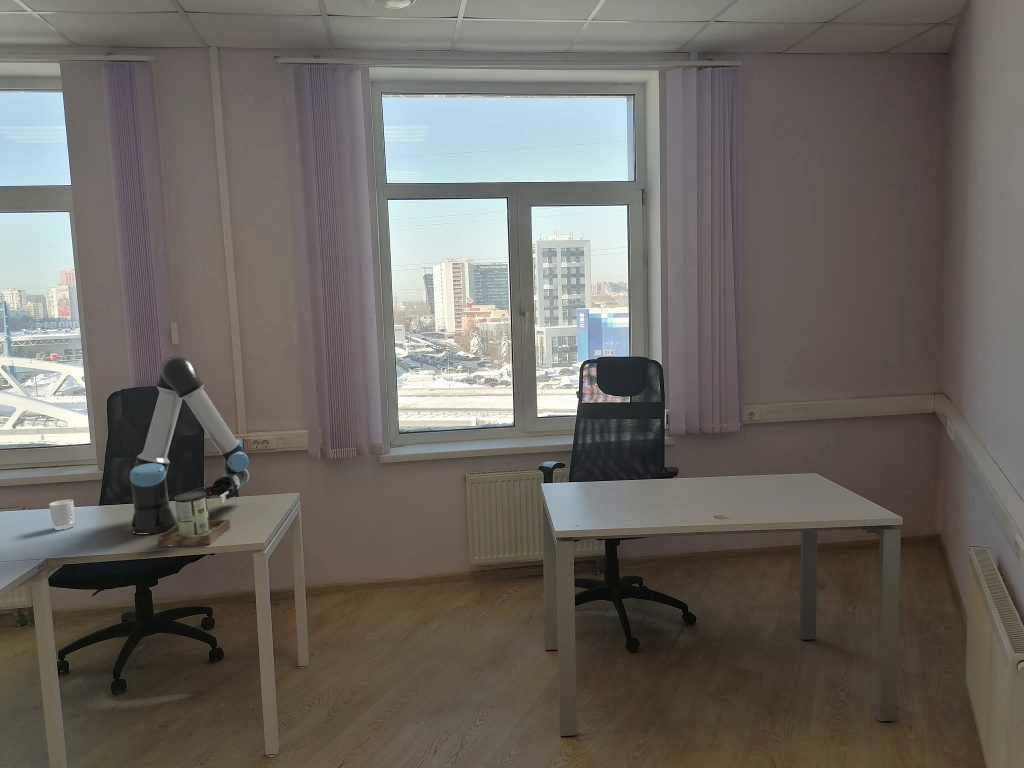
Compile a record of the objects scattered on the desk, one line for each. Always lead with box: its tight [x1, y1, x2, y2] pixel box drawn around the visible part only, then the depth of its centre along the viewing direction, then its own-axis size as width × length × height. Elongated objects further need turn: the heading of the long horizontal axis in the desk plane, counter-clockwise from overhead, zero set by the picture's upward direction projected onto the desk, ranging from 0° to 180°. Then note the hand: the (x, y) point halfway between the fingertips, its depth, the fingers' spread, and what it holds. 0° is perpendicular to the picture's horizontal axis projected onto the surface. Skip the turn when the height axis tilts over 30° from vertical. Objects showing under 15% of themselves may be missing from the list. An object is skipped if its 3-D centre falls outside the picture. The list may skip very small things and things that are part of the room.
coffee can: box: [173, 491, 210, 536], centre depth 266 cm, size 10×10×14 cm
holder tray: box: [156, 519, 231, 547], centre depth 267 cm, size 18×18×3 cm
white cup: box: [48, 499, 76, 526], centre depth 287 cm, size 8×8×10 cm
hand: (202, 500), depth 274 cm, fingers open, 13 cm apart
